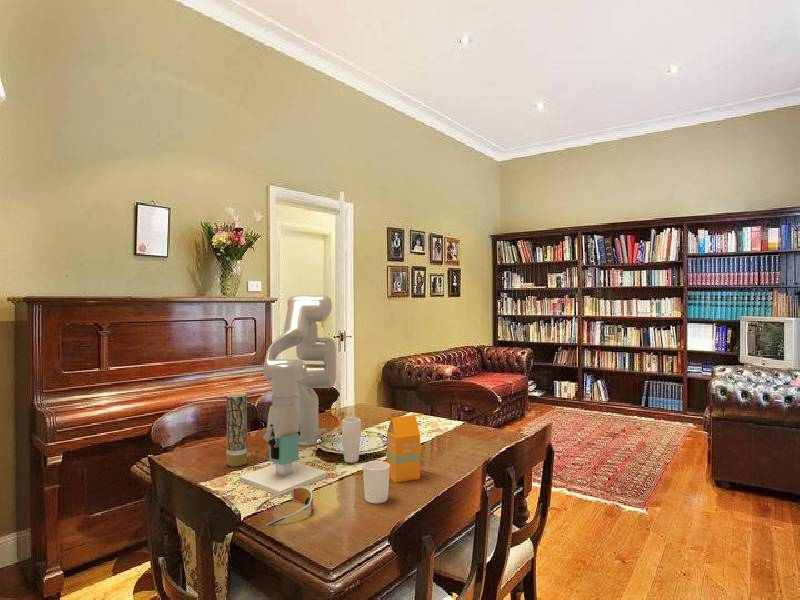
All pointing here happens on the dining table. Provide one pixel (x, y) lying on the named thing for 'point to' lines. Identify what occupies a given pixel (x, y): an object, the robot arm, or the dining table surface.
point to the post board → (283, 478)
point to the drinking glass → (351, 438)
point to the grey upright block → (284, 469)
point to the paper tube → (236, 429)
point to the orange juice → (403, 449)
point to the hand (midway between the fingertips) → (283, 455)
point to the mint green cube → (287, 449)
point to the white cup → (376, 481)
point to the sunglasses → (298, 495)
